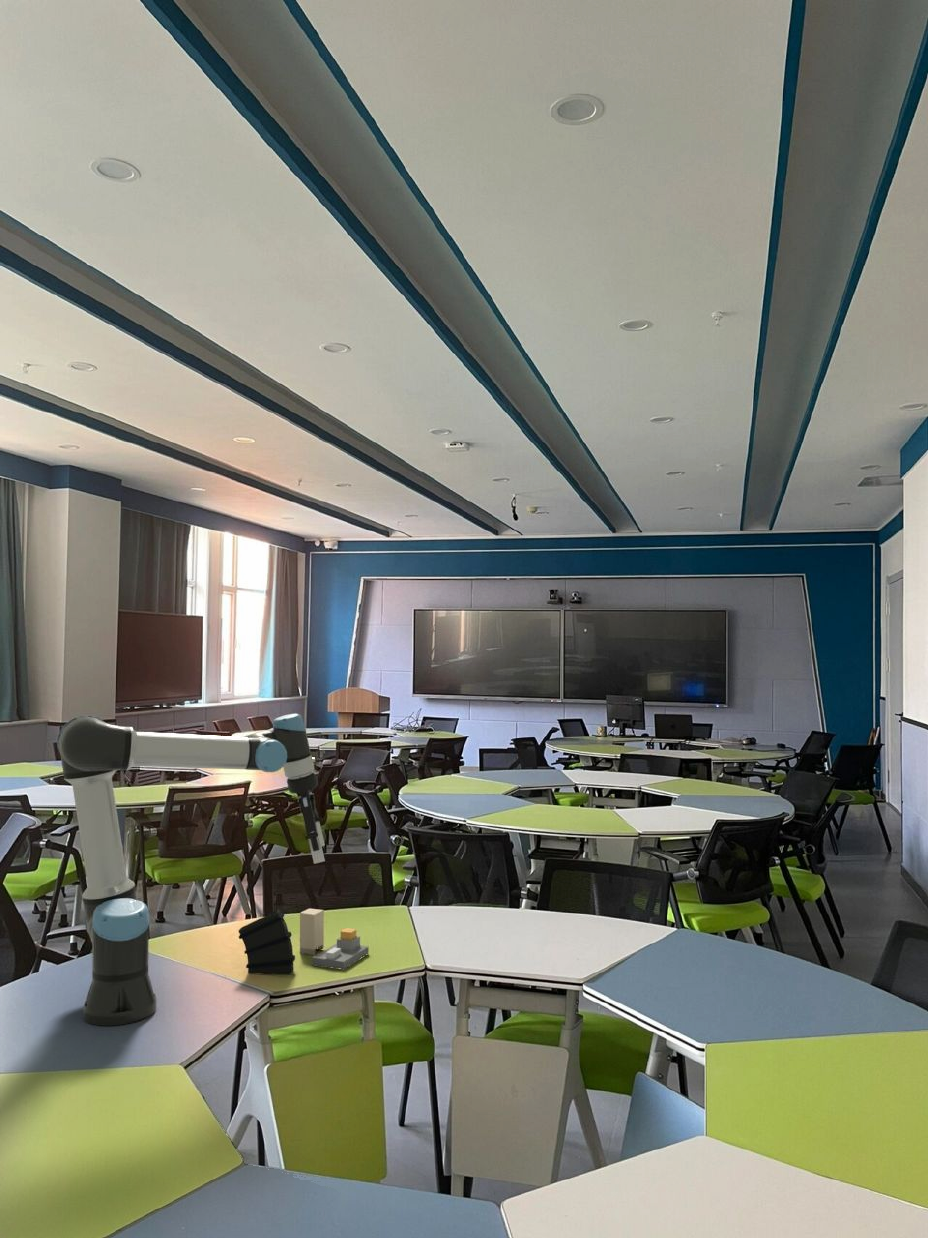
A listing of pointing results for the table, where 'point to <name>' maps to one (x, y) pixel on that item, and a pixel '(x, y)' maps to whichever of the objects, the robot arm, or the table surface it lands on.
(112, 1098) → the table surface
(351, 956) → the rail cradle
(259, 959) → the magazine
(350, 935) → the button
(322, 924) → the block
